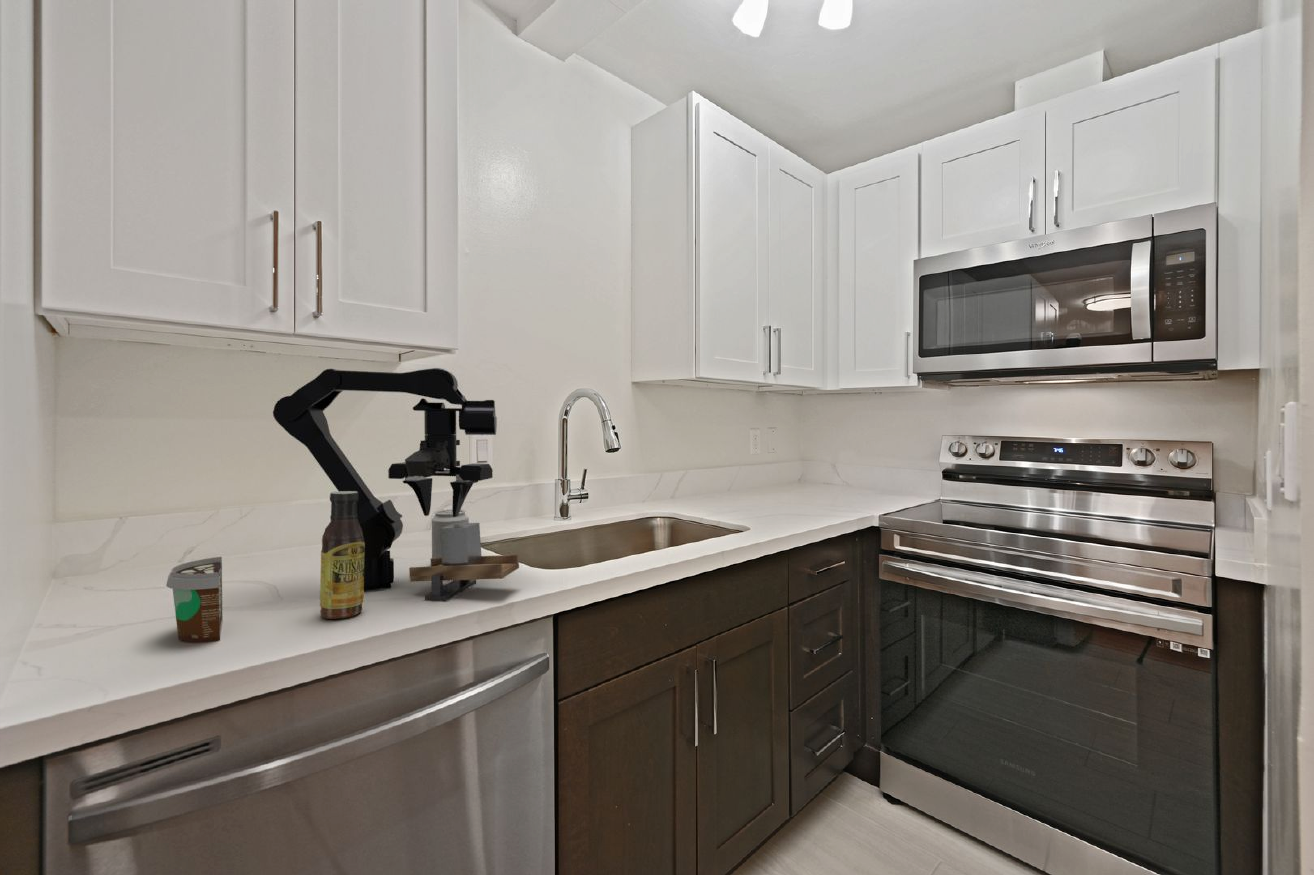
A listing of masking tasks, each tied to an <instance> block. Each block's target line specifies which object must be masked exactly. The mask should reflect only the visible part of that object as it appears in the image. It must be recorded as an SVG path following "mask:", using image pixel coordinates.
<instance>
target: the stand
mask: <svg viewBox="0 0 1314 875" xmlns="http://www.w3.org/2000/svg"><path fill="white" fill-rule="evenodd" d="M430 582H431V584H430V585H431V591H430V592H429V593H427V594H425V595H424V601H429V602H431V601H432V602H448V601H450V600H451V599H452V598H455V597H456V596H457V595H460V594H461V593H462V592H465V591H467V590H468V589H469V588H472V587H473V586H474V585H477V580H450V582H447V583H446V584H444V581H443V575H438V574H434V575H432V576H431V581H430Z"/></svg>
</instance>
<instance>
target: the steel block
mask: <svg viewBox="0 0 1314 875" xmlns="http://www.w3.org/2000/svg"><path fill="white" fill-rule="evenodd" d="M440 534H441V549H442V564H443V565H444V566H456V565H482V557H481V556H482V546H481V545H482V544H481V543H482V542H481V530H480V522H469V523H455V524H452V525H449V526H446V527H443V528H440Z"/></svg>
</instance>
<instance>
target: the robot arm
mask: <svg viewBox="0 0 1314 875" xmlns="http://www.w3.org/2000/svg"><path fill="white" fill-rule="evenodd" d="M458 386H459V385H458V380H457V378H456V376H455V375H454V374H453V373H452V372H449V371H448V370H447V369H444V368H440V367H434V368H425V369H418V370H413V371H406V372H388V371H385V372H384V371H365V370H364V371H363V370H340V369H335V368H327V369H324V370H323V371H322V372H321V373H320V374H318V375H317V376H316V377H315V378H314V379H312V380H310V381H309V382H307V383H306V384H304V385H303V386H301V387H299V388H298V389H297V390H296V391H294V393H292V394H291V395H285V396H284V397H281V398H279V400H277V401H276V403H275V404H274V407H273V411H272V416H273V418H274V420H275V422H276V423H277V424H278V425H279V426H281V428H282V429H284V430H285V432H287V433H288V434H289V435H290V436H291V437H292V438H294V439H295V440H297V441H298V442H299V443H301V444H302V445H304V446H305V447H306V448H307V449H308V451H309V452H310V454H311V455H312V456H313V458H314V459H315V461H316V462H317V463H318V465H319V466H320V468H321V469H322V471H324V474H325V475H326V476H327V478H328V479H329V481H330V482H331V483H332V484H333V485H334V487H335V488H336V490H337V491H357V492H358V501H357V519H358V522H359V525H360V527H361V529H362V533H363V538H364V542H365V553H364V592H368V591H377V590H387V589H391V588H392V584H394V583H395V572H394V571H395V566H394V565H395V563H394V558H393V557H391V550H390V549H391V547H392V544H393V543H394V542H395V541H396V540H397V539H398V538H400V536H401V535H402V532H403V528H404V522H403V521H402V520H401V518H403V515H402V514H401V513H400V512H399V511H397V509H396V507H395V506H394V504H393V502H392V500H391V499H388V500H386V501H384V502H382V501H381V500H379V499H378V498H377V497H375V495H374V494H373V492H372V491H371V490H370V488H369V487H368V486H367V484H366V483H365V482H364V480H363V479H362V477H361V476H360V474H359V473H358V472H357V470H356V468H355V467H354V466H353V464H352V463H351V462H350V460H349V459H348V457H347V456H346V455H345V453H344V452H343V451H342V449H341V447H340V446H339V445H338V444H337V442H336V441H335V439H334V437H332V434H331V432H330V428H329V424H328V420H327V417H326V415H325V412H324V411H325V410H326V409H327V408H329V406H331V405H332V403H333V402H334V401H335V399H336V398H337V397H338V396H339V395H340V394H341V393H342V392H344V391H345V392H346V391H350V392H353V391H354V392H372V393H373V392H376V393H377V392H378V393H379V392H382V393H401V394H402V393H404V394H411V395H415V396H421V397H425V398H420V400H419V401H418V403H417V404H415V405H414V406H413V407H412V410H413V411H415V412H416V411H417V412H424V413H423V414H424V415H423V416H424V417H423V418H424V421H423V422H424V423H423V424H424V426H423V427H424V440H420V443H419V449H418V450H417V451H414V452H413V453H412V454H410V455H409V456H407V457H406V458H405V459H404V461H403V462H395V463H391V464H390V466H389V468H388V470H387V472H388V473H387V475H388V476H387V478H388V479H389V480H391V479H393V480H402V483H403V484H407V486H409V487H410V488H411V489H412V490H413V491H414V493H415V496H416V498H417V500H418V503H419V505H420V508H421V510H422V513H423V515H424V516H425V517H428V516H430V512H431V507H432V490H433V478H432V477H455V481H450V482H449V484H450V487H451V488H452V508H451V509H452V511H453V517H457V516H458V514H459V512H460V510H462V507H463V505H464V503H465V500H466V498H467V496H468V494H469V492H470V490H471V488H472V487H473V485H474V484H475V483H479V481H485V480H490V479H493V468H492V466H491V464H489V463H468V464H461V461H460V460H457V455H458V454H457V446H460V445H461V444H460V443H461V441H460V439H457V412H458V429H459V430H461V431H464V434H465V435H467V436H468V435H469V436H481V435H482V436H489V435H490V436H492V435H493V436H496V434H497V427H498V425H497V424H498V423H497V422H498V421H497V420H498V417H497V416H496V415H497V414H496V403H495V402H496V401H495V400H494V399H485V400H467V399H466V396H465V395H463V393H462V392H461V391H460V390H459V388H458ZM426 398H429V399H431V398H432V399H435V400H445V401H446V402H447V403H449V404H452V405H457V406H461V407H460V408H456V407H455V408H454V407H453V408H451V407H446V405H445V402H433V401H432V402H429V401H428V400H427V399H426ZM403 479H404V480H403Z"/></svg>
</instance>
